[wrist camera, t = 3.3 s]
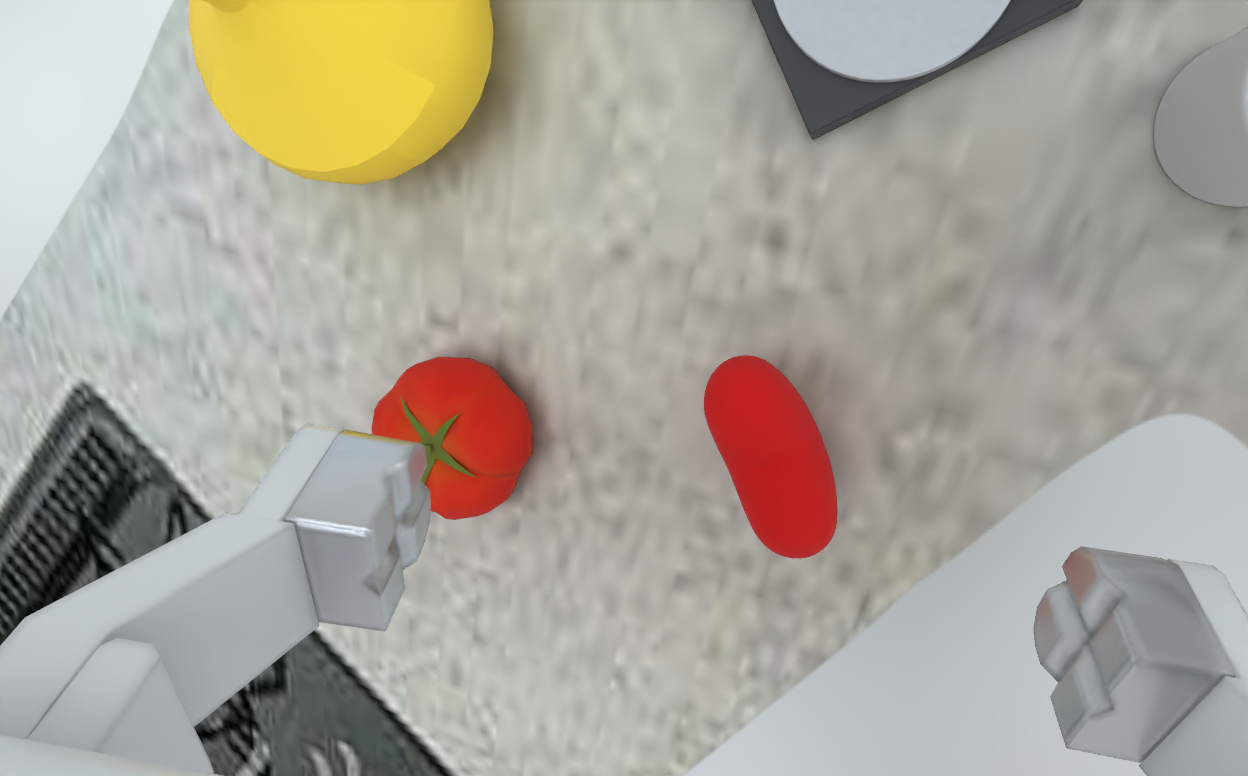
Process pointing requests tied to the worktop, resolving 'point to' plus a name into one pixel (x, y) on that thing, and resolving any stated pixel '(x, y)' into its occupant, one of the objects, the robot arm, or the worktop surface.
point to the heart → (773, 456)
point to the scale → (884, 46)
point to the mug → (1208, 125)
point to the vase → (344, 79)
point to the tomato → (460, 432)
